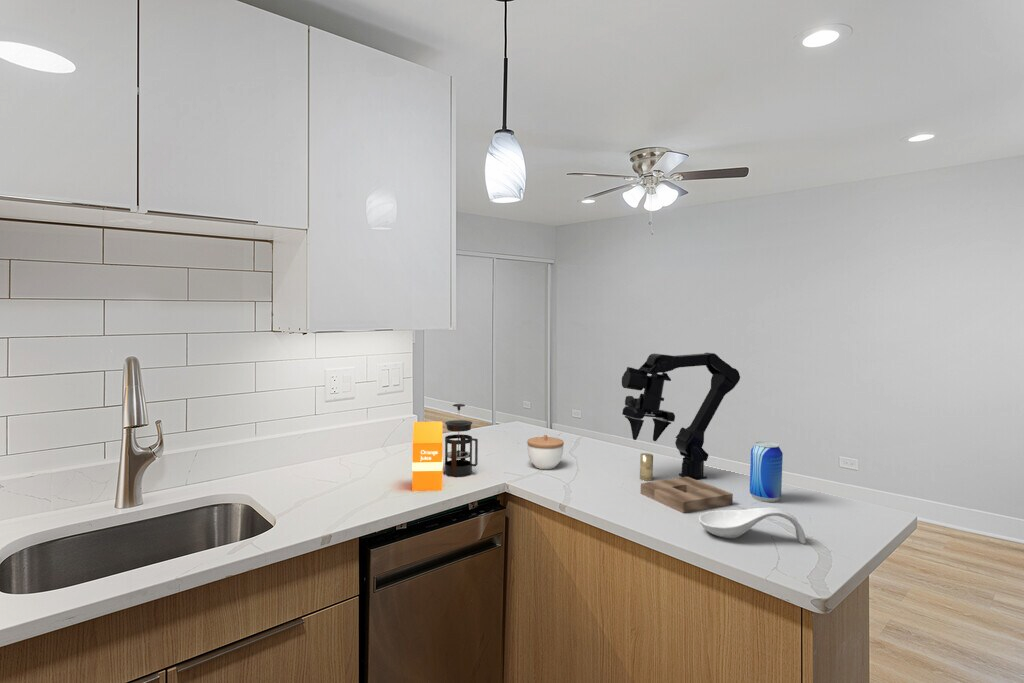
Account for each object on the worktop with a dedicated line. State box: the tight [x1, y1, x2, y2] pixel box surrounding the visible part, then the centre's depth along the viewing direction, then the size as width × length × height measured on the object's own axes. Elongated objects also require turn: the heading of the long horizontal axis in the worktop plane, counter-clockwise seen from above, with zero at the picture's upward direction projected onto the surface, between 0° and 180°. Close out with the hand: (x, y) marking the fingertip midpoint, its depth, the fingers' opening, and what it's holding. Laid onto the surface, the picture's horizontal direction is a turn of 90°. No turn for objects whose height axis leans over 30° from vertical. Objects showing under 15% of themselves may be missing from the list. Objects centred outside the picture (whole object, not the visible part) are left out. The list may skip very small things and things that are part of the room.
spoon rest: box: [698, 506, 806, 545], centre depth 135 cm, size 24×12×7 cm, turn 77°
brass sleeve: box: [639, 452, 654, 482], centre depth 180 cm, size 4×4×8 cm
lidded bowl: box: [526, 434, 565, 470], centre depth 194 cm, size 13×13×11 cm
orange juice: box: [411, 421, 444, 492], centre depth 169 cm, size 8×9×20 cm
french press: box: [443, 403, 479, 478], centre depth 184 cm, size 12×9×23 cm
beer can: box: [749, 441, 783, 503], centre depth 162 cm, size 8×8×16 cm
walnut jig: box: [640, 476, 734, 514], centre depth 161 cm, size 18×18×3 cm
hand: (644, 440), depth 179 cm, fingers open, 9 cm apart
